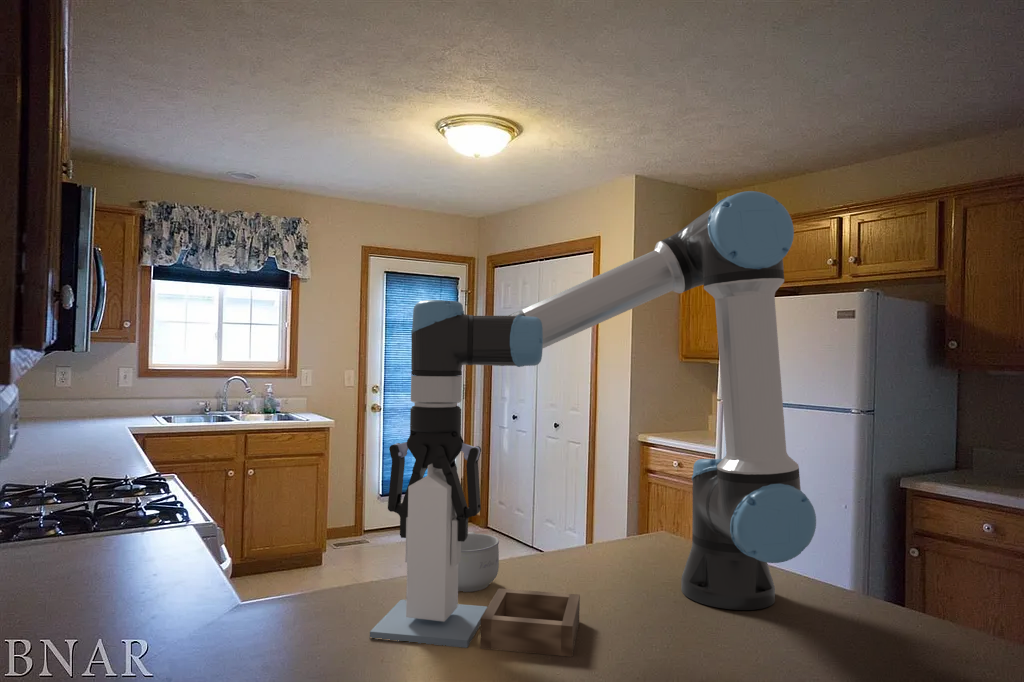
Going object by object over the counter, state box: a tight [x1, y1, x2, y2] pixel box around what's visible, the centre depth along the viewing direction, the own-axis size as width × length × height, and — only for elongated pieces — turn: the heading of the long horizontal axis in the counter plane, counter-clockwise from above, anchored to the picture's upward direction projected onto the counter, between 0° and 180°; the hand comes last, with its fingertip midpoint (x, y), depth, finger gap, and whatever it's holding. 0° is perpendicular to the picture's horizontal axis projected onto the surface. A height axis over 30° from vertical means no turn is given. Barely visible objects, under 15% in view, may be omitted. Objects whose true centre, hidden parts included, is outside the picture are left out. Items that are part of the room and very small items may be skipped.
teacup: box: [458, 531, 500, 593], centre depth 119 cm, size 14×11×8 cm
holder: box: [479, 588, 581, 658], centre depth 97 cm, size 12×12×4 cm
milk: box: [405, 463, 459, 621], centre depth 100 cm, size 6×6×22 cm
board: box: [369, 599, 488, 649], centre depth 100 cm, size 14×13×1 cm
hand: (433, 561), depth 100 cm, fingers open, 6 cm apart
